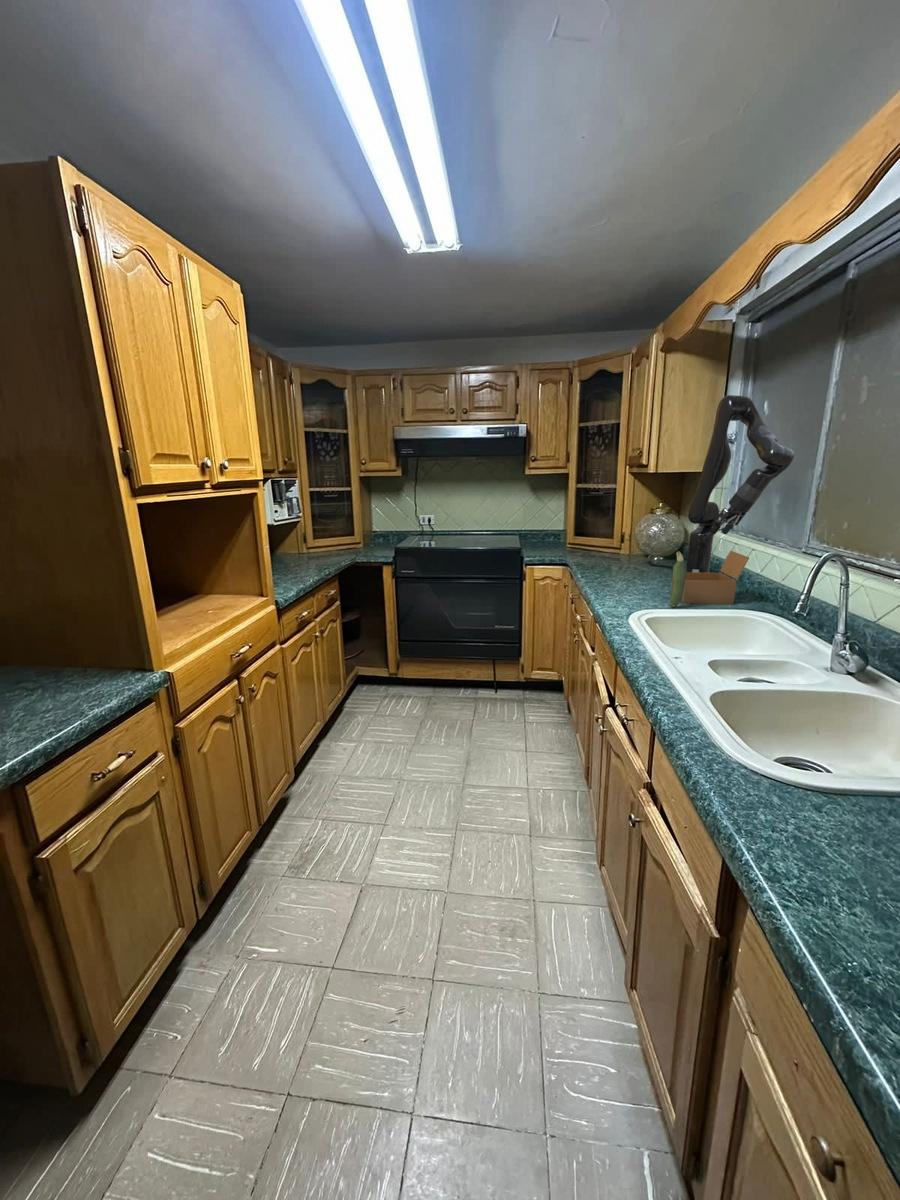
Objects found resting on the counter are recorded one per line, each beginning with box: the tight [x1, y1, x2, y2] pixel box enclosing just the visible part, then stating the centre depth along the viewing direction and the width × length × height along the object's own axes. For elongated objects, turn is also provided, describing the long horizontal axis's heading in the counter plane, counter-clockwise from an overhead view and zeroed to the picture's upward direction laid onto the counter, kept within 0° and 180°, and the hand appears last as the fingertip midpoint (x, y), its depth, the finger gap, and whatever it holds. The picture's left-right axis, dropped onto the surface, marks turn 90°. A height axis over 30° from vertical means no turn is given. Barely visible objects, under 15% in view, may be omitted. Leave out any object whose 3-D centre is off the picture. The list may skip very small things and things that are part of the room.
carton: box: [670, 572, 738, 605], centre depth 179 cm, size 15×17×8 cm
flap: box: [719, 550, 750, 580], centre depth 176 cm, size 15×8×1 cm
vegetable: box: [669, 550, 687, 608], centre depth 166 cm, size 4×4×20 cm
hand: (717, 533), depth 188 cm, fingers open, 8 cm apart
